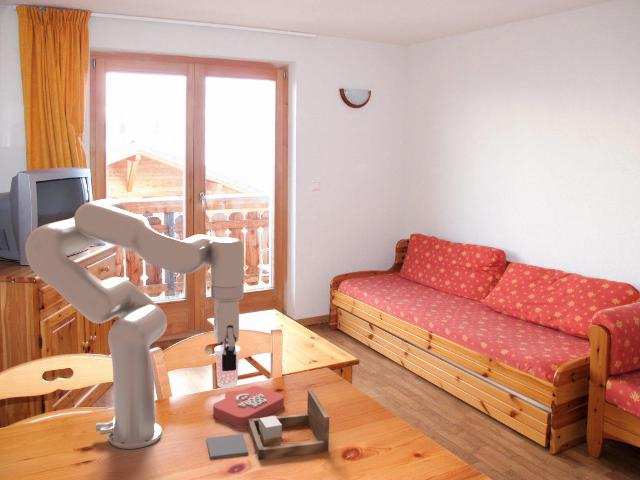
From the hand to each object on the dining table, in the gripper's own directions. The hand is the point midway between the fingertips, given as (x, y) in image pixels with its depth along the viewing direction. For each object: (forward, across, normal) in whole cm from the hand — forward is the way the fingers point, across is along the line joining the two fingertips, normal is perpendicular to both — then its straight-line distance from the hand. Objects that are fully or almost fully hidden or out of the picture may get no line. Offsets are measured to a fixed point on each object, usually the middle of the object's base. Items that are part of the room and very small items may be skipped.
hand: (227, 364), depth 144 cm
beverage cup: (+5, 0, 0) cm, 5 cm away
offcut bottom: (+21, 0, +10) cm, 24 cm away
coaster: (+21, 0, 0) cm, 21 cm away
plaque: (+22, -20, +7) cm, 31 cm away
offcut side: (+21, -5, +11) cm, 25 cm away
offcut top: (+18, 0, +10) cm, 21 cm away
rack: (+21, 0, +15) cm, 26 cm away
